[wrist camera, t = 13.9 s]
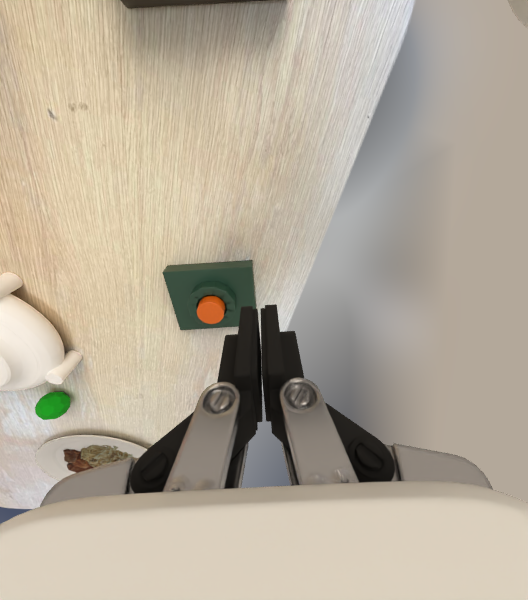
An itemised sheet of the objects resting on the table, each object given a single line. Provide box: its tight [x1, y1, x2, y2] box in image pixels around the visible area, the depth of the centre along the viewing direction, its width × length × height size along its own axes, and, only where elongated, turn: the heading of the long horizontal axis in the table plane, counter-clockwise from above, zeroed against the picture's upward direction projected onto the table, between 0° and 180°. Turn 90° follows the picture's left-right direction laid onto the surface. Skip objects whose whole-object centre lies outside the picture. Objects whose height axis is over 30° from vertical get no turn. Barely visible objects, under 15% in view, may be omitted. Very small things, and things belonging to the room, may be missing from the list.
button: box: [197, 296, 225, 324], centre depth 32 cm, size 4×4×2 cm
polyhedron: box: [35, 392, 70, 420], centre depth 45 cm, size 5×5×5 cm
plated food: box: [35, 435, 147, 481], centre depth 60 cm, size 30×30×3 cm
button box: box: [163, 260, 256, 330], centre depth 34 cm, size 12×10×4 cm
